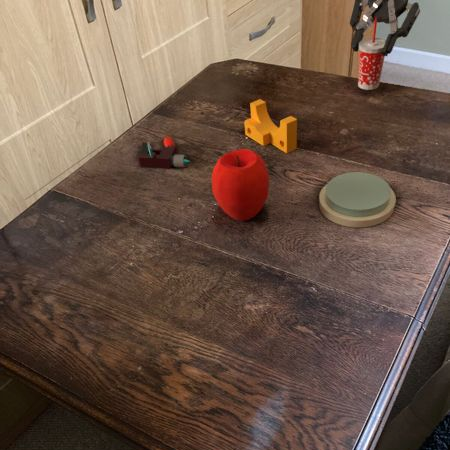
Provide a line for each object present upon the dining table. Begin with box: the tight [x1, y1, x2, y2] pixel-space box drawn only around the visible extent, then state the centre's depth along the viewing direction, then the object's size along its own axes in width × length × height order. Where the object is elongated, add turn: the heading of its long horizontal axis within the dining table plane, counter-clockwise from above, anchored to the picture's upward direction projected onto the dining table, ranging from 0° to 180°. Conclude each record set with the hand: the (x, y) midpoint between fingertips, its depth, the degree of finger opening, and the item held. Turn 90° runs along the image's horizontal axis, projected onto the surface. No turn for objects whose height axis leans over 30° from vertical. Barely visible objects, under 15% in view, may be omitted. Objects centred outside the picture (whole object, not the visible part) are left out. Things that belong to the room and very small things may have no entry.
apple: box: [211, 148, 270, 222], centre depth 84 cm, size 10×10×12 cm
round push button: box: [318, 171, 397, 229], centre depth 86 cm, size 13×13×3 cm
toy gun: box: [136, 136, 191, 169], centre depth 102 cm, size 10×12×5 cm
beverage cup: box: [357, 17, 386, 91], centre depth 107 cm, size 6×6×14 cm
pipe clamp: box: [244, 98, 298, 154], centre depth 102 cm, size 12×4×6 cm, turn 34°
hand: (369, 51), depth 105 cm, fingers closed on beverage cup, 6 cm apart
